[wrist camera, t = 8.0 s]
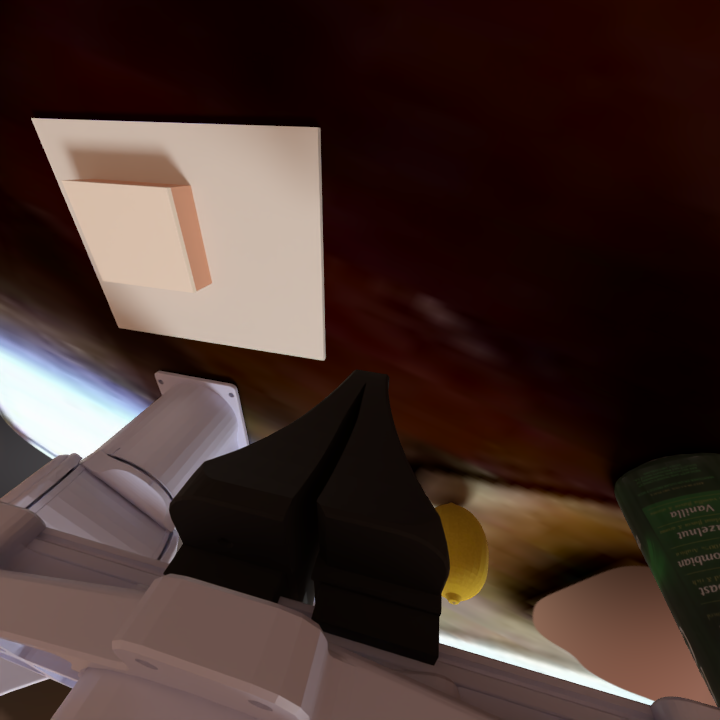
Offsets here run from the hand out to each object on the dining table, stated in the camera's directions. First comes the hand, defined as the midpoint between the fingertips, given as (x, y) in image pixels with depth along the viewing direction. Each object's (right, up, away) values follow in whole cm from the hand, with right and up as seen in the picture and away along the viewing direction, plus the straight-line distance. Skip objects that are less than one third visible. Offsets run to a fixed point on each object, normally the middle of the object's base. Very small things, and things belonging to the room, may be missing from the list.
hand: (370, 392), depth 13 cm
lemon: (+8, -12, +17) cm, 22 cm away
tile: (-11, +9, +7) cm, 16 cm away
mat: (-11, +9, +9) cm, 17 cm away
